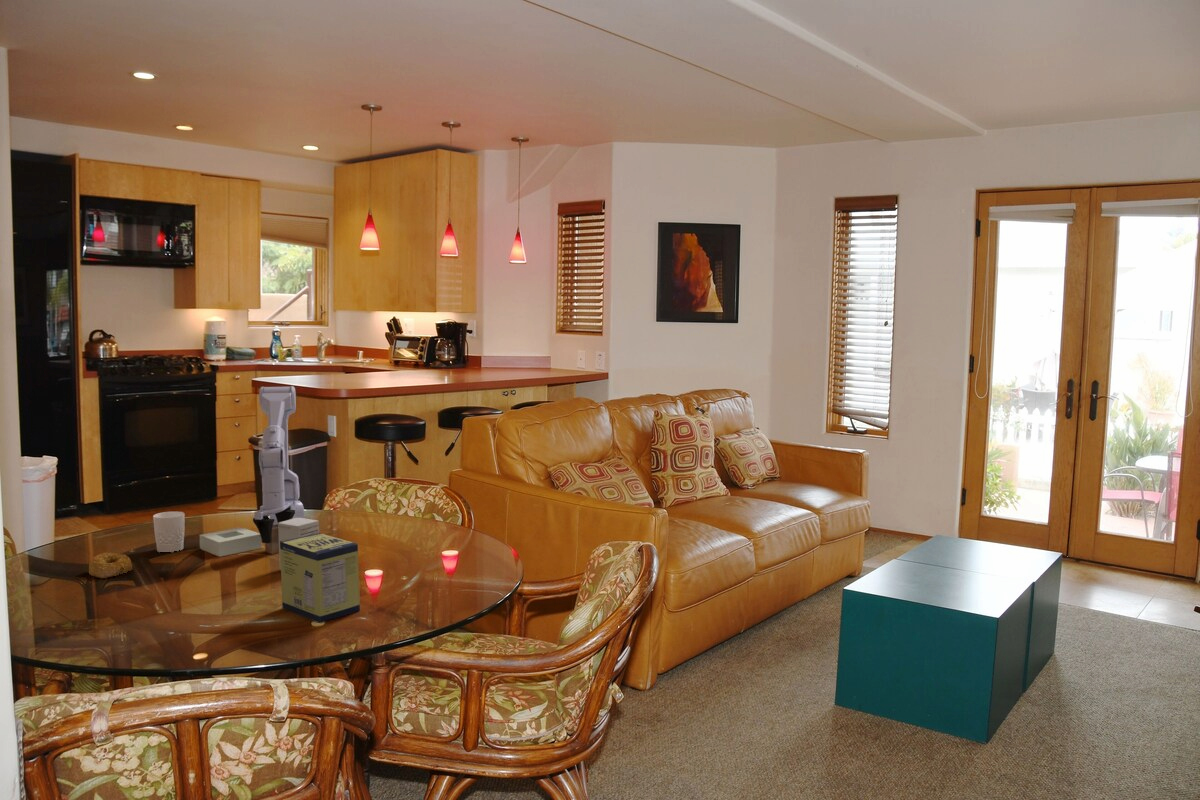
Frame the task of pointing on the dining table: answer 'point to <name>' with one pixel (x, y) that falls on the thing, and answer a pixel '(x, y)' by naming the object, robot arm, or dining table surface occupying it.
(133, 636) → the dining table surface
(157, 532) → the white cup
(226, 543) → the socket block
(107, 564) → the bagel
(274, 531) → the peg
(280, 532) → the supplement box
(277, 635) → the dining table surface
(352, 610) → the protein box
